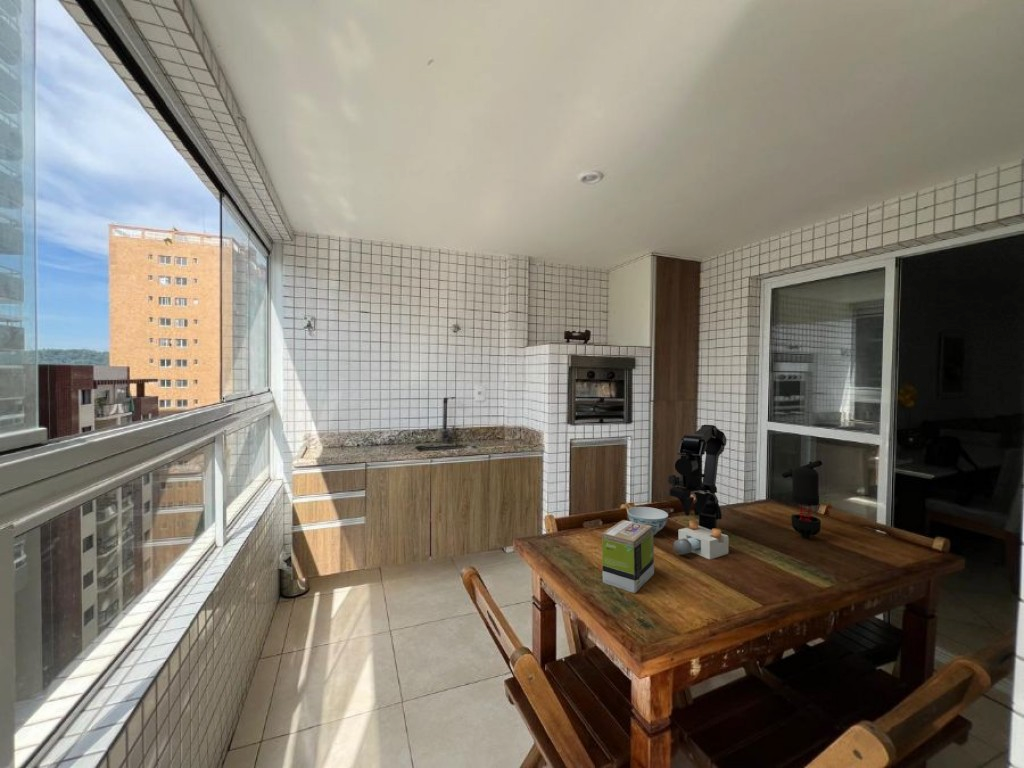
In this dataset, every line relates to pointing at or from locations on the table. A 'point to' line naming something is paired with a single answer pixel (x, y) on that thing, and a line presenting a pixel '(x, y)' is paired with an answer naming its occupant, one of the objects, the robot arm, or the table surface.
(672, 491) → the robot arm
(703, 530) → the housing
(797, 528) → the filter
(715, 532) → the plunger
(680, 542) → the cartridge
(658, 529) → the chinaware
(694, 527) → the plunger
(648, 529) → the tea box
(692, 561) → the table surface
